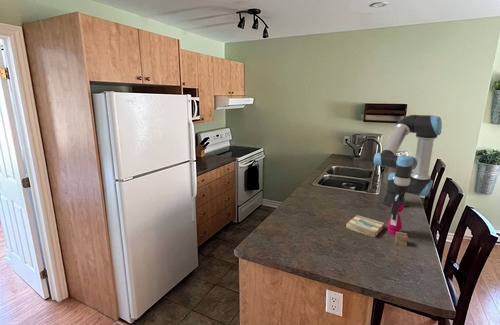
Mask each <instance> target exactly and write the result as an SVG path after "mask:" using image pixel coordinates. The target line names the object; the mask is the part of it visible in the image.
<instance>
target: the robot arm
mask: <svg viewBox="0 0 500 325" xmlns="http://www.w3.org/2000/svg"><path fill="white" fill-rule="evenodd" d="M442 123H443V122H442V118H441V116H438V115H428V114H427V115H425V114H422V115H421V114H420V115H419V114H409V115H407V116H404V117H403V118H401V119H399V120H398V121H397V122H396V123H395V124H394V126H393V131H392V133H391V135H390V137H389V138H388V140H387V142H386V144H385V145H384V146H383V149H382V151H381V152H376V153H375V154H374V155H373V164H374V165H375V166H379V167H383V168H384V167H386V168H392V169H394V170H395V171H394V172H390V173H388V177H387V183H386V191H385V193H384V195H383V197H382V201H381V202H382V203H383V205H386V206H389V207H391V212H390V214H391V217H392V218H390V219H391V225H394V226H396V223H397V217H398V215H397V214H398V209H399V205H400V203H402V204H403V205H404V208H405V207H406V203H407V202H406V198H405V194H411V195H416V196H419V197H427V196H429V193H430V191H431V189H432V186H433V182H434V180H432V179H431V176H430V175H429V173H430V165H431V159H432V154H433V147H434V141H435V139H437V138H438V136H440V135H441V133H442V128H443V126H442V125H443V124H442ZM410 133H411V134H415V137H416V138H417V144H416V145H417V146H416V151H415V156H410V155H398V154H397V153H398V150H399V149H400V148H401V145H402V143H403V141H404V140H405V138H406V136H408V135H409V134H410ZM412 171H413V172H412ZM392 204H393V206H392ZM403 211H404V209H403V210H402V212H403ZM400 218H401V216H400Z"/></svg>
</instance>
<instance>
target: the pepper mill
mask: <svg viewBox="0 0 500 325" xmlns="http://www.w3.org/2000/svg"><path fill="white" fill-rule="evenodd" d="M392 206H393V204H392ZM392 206H391V207H392ZM404 209H405V207H404V205H403V204H402V203H400V205H399V209H398V214H397V215H398V217H397V223H396V226H394V225H391V218H392V216H391V218H389V220H388V222H387V227H388V228H387V232H388V234H391V235H394V236H395V235H396V232H401V230H402V228H403V223H402V220H401V217H400V216H401V215H402V214H403V211H404ZM402 210H403V211H402Z"/></svg>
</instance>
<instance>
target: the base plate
mask: <svg viewBox="0 0 500 325" xmlns="http://www.w3.org/2000/svg"><path fill="white" fill-rule="evenodd" d="M384 227H385V222H381V221H379V220H374V219H373V218H372V219H371V218H368V217H364V216H361V215H358V214H357V215H355V216H354V217H353V218H351V219H350V220H349V221H348V222H347V223H346V226H345V228H346V229H347V230H351V231H353V232H356V233H360V234H363V235H366V236H369V237H372V238H376V237H377V235H378V234H379V233H380V232H381V231H382V230H383V229H384Z"/></svg>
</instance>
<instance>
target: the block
mask: <svg viewBox="0 0 500 325" xmlns="http://www.w3.org/2000/svg"><path fill="white" fill-rule="evenodd" d="M394 236H395V237H394V242H395V245H398V246H403V247H408V241H409V236H408V233H407V232H403V231H402V232H401V231H400V232H396V235H394Z"/></svg>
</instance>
